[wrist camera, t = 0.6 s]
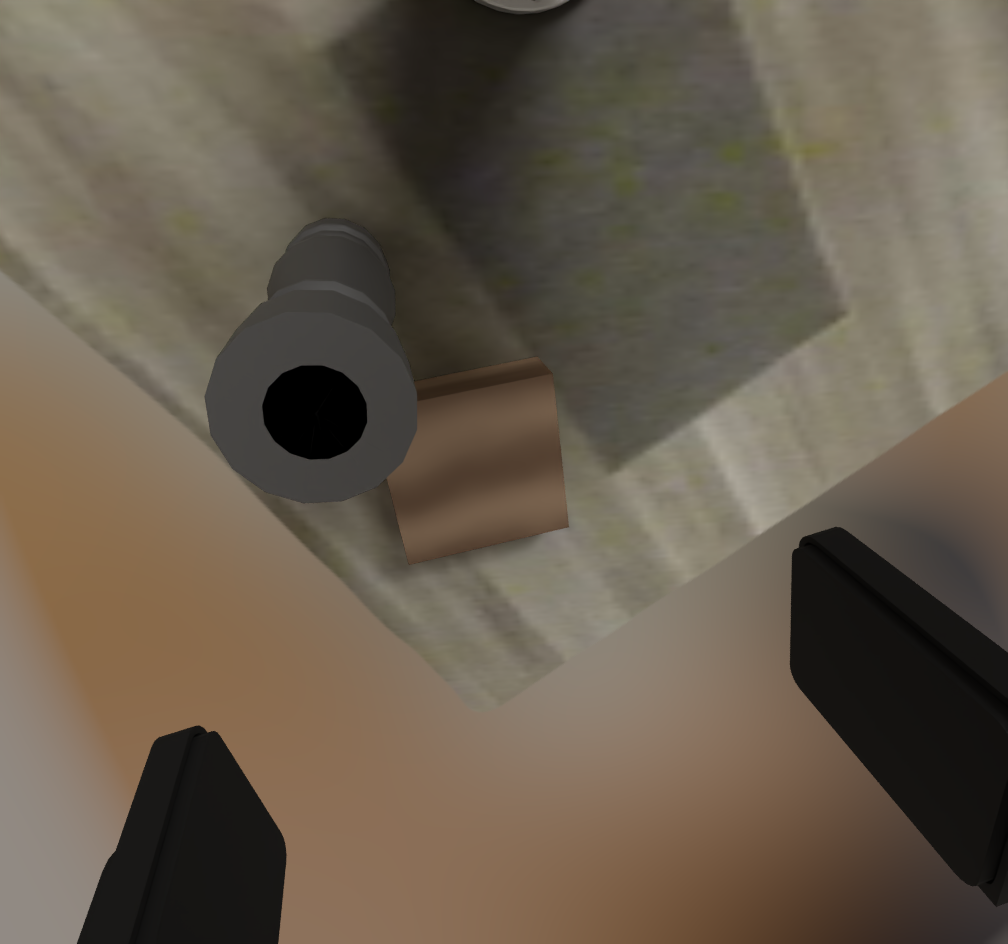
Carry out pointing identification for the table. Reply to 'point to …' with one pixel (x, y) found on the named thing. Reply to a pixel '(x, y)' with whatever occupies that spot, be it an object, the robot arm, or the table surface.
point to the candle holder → (317, 373)
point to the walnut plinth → (481, 461)
